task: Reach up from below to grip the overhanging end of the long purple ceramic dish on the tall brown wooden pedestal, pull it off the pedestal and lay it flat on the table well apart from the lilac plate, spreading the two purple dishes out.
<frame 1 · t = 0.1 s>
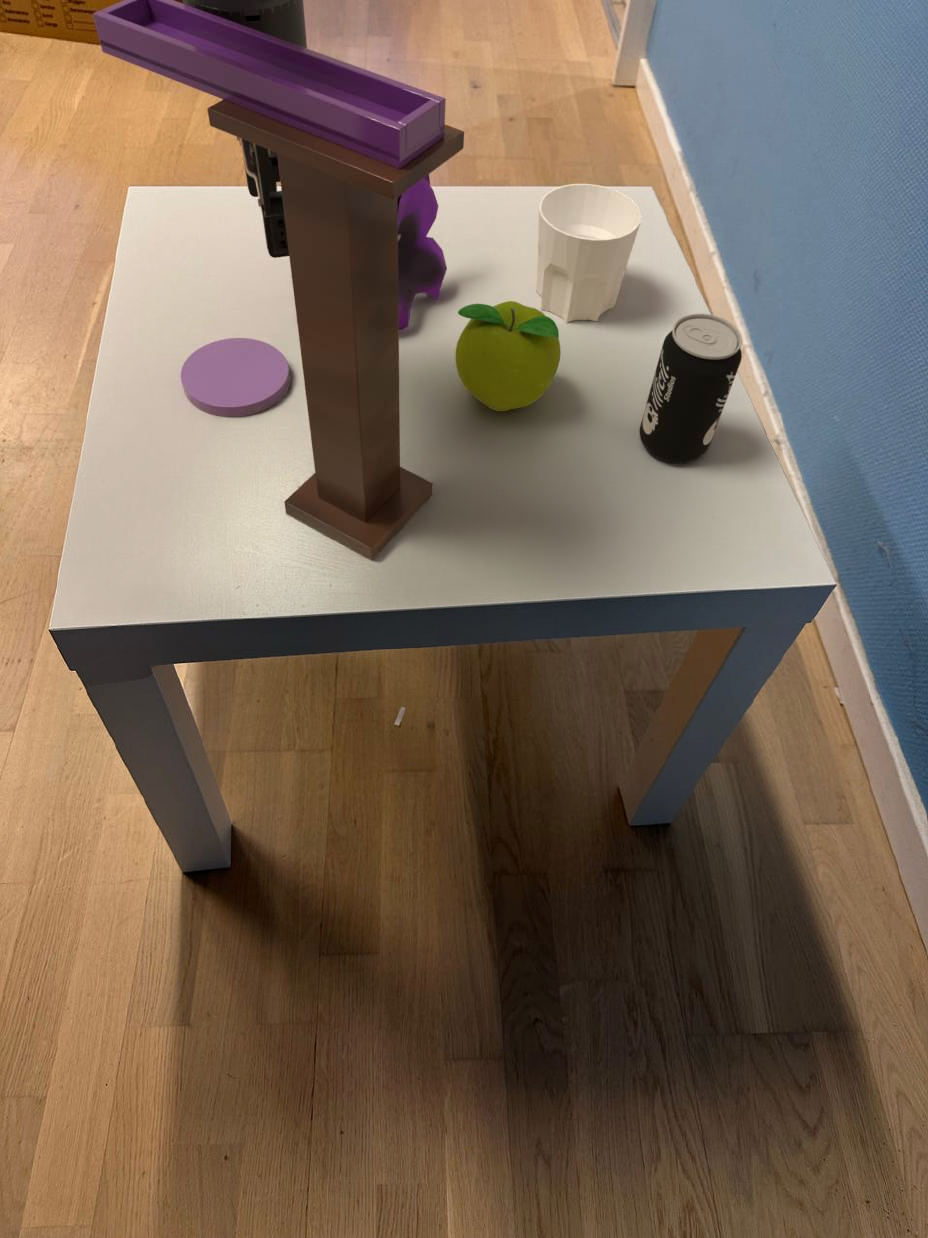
hand: (272, 222, 69), 18 cm above the table, tool pointing down, fingers open, 8 cm apart
fruit: (503, 399, 86), on the table
beverage can: (672, 443, 83), on the table
purple dish: (267, 93, 52), point 32 cm above the table, touching brown wooden pedestal
cup: (574, 300, 96), on the table
flower: (371, 294, 95), on the table
lilac plate: (236, 381, 85), on the table
brown wooden pedestal: (360, 504, 77), on the table
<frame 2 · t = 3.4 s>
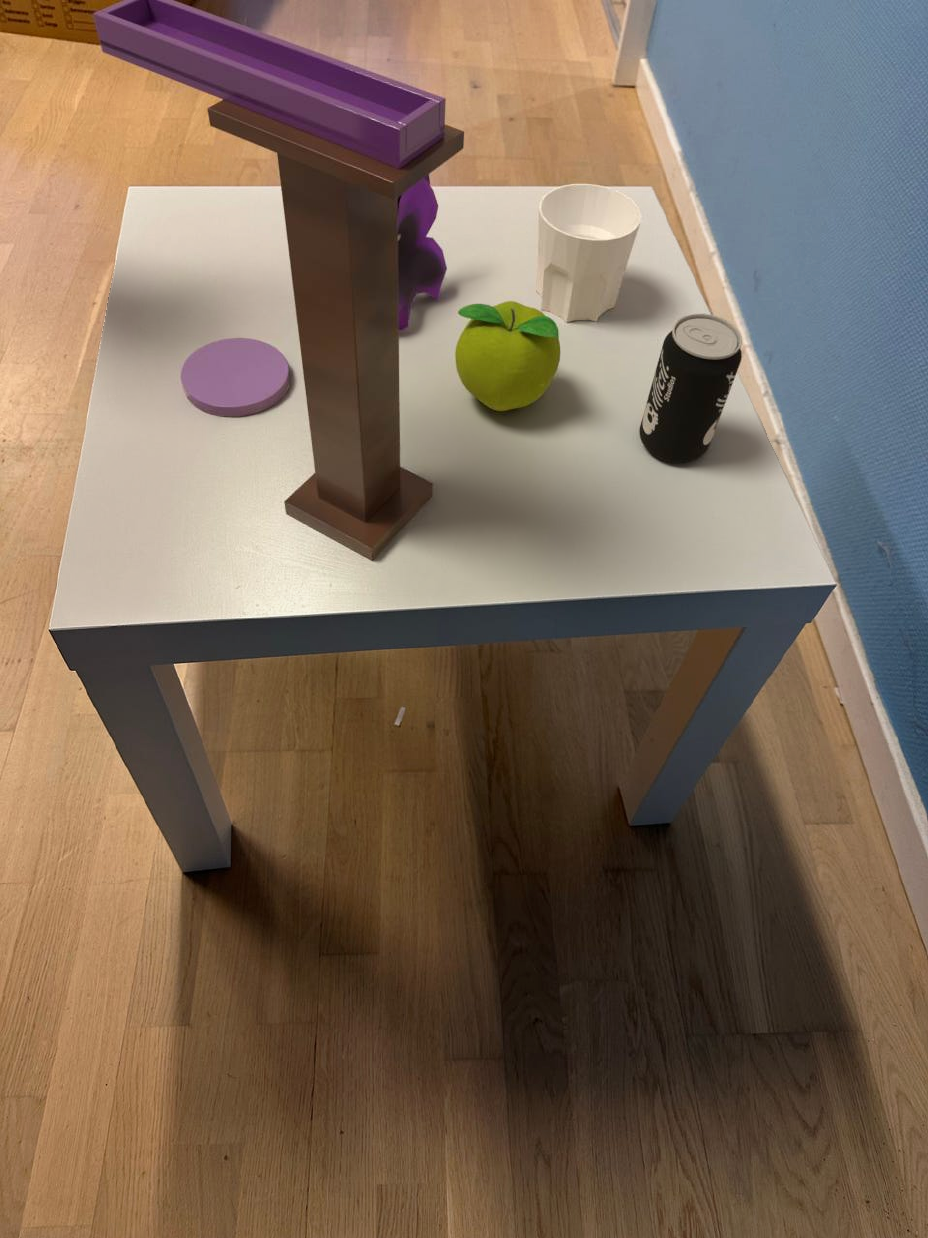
nothing on the table moved.
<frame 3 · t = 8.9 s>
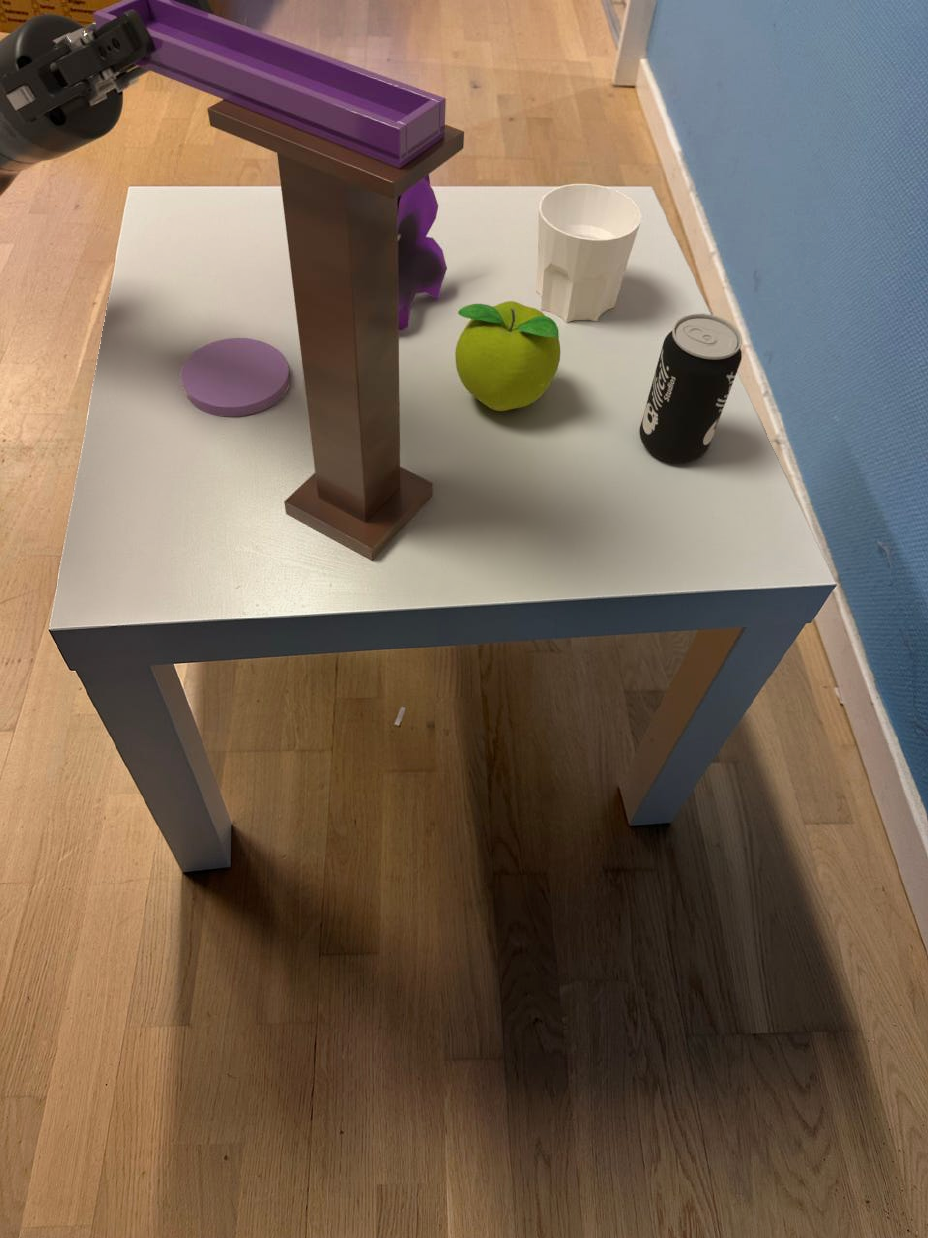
hand: (173, 16, 52), 34 cm above the table, tool pointing upward, fingers closed on purple dish, 4 cm apart
purple dish: (267, 92, 52), point 32 cm above the table, touching brown wooden pedestal, gripper
everything else where it was.
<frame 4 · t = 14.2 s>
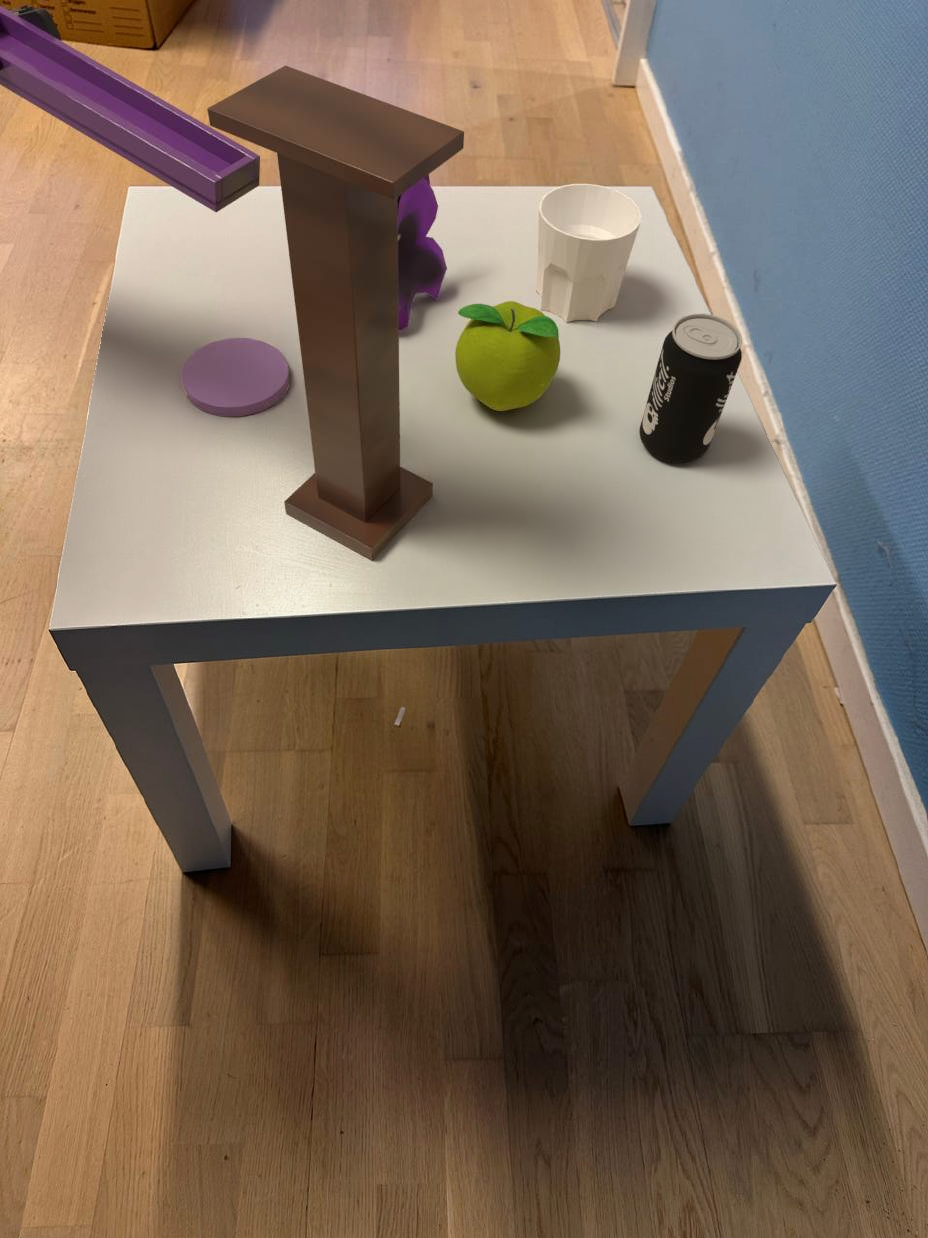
hand: (21, 39, 59), 30 cm above the table, tool pointing upward, fingers closed on purple dish, 4 cm apart
purple dish: (106, 121, 60), point 27 cm above the table, tilted 10°, touching gripper
everything else where it was.
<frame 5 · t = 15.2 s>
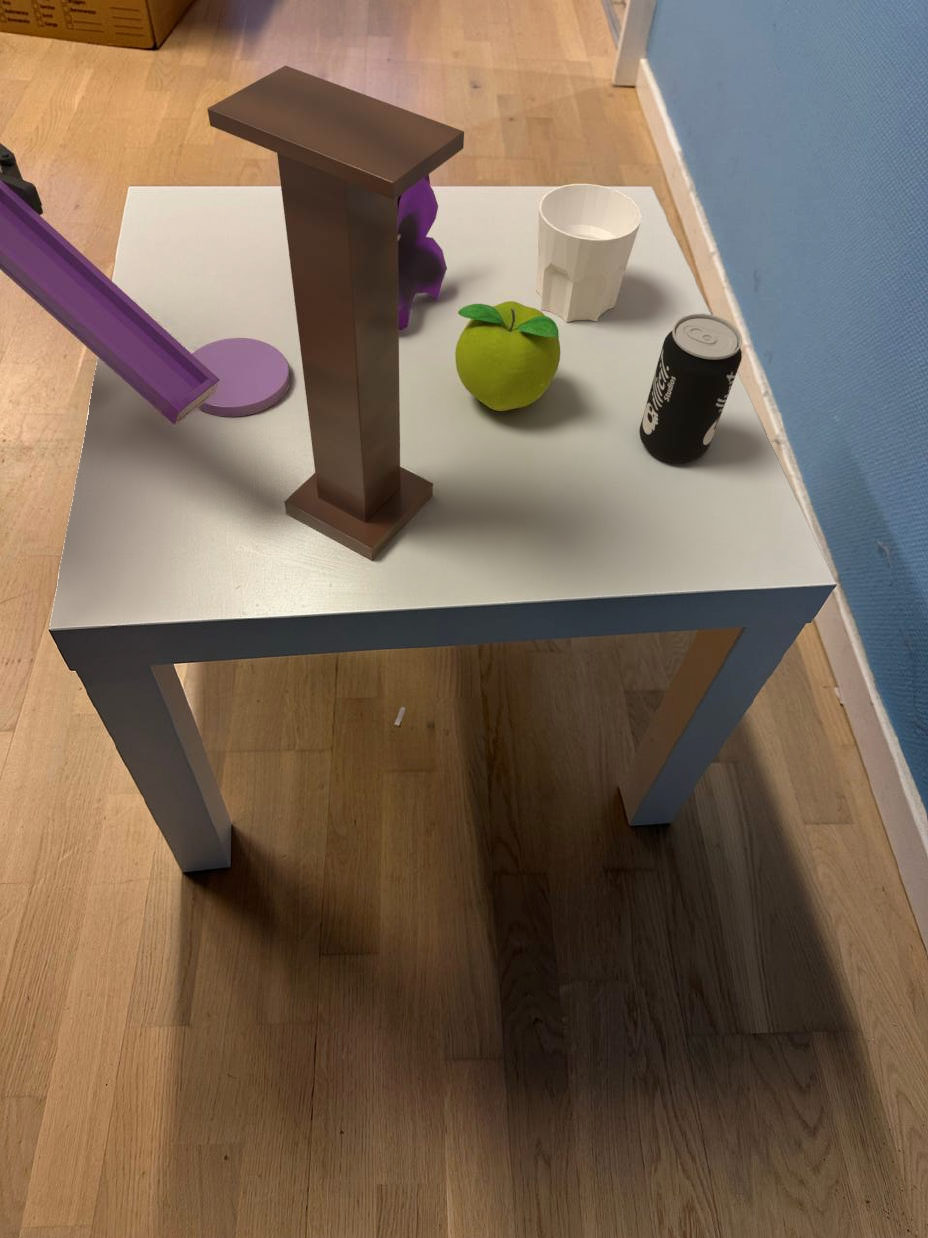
hand: (7, 217, 63), 21 cm above the table, tool horizontal, fingers closed on purple dish, 4 cm apart
purple dish: (79, 306, 66), point 16 cm above the table, tilted 27°, touching gripper
everything else where it was.
when the fingers open (7 cm above the table, at t = 19.7 s): purple dish drops 3 cm, on the table.
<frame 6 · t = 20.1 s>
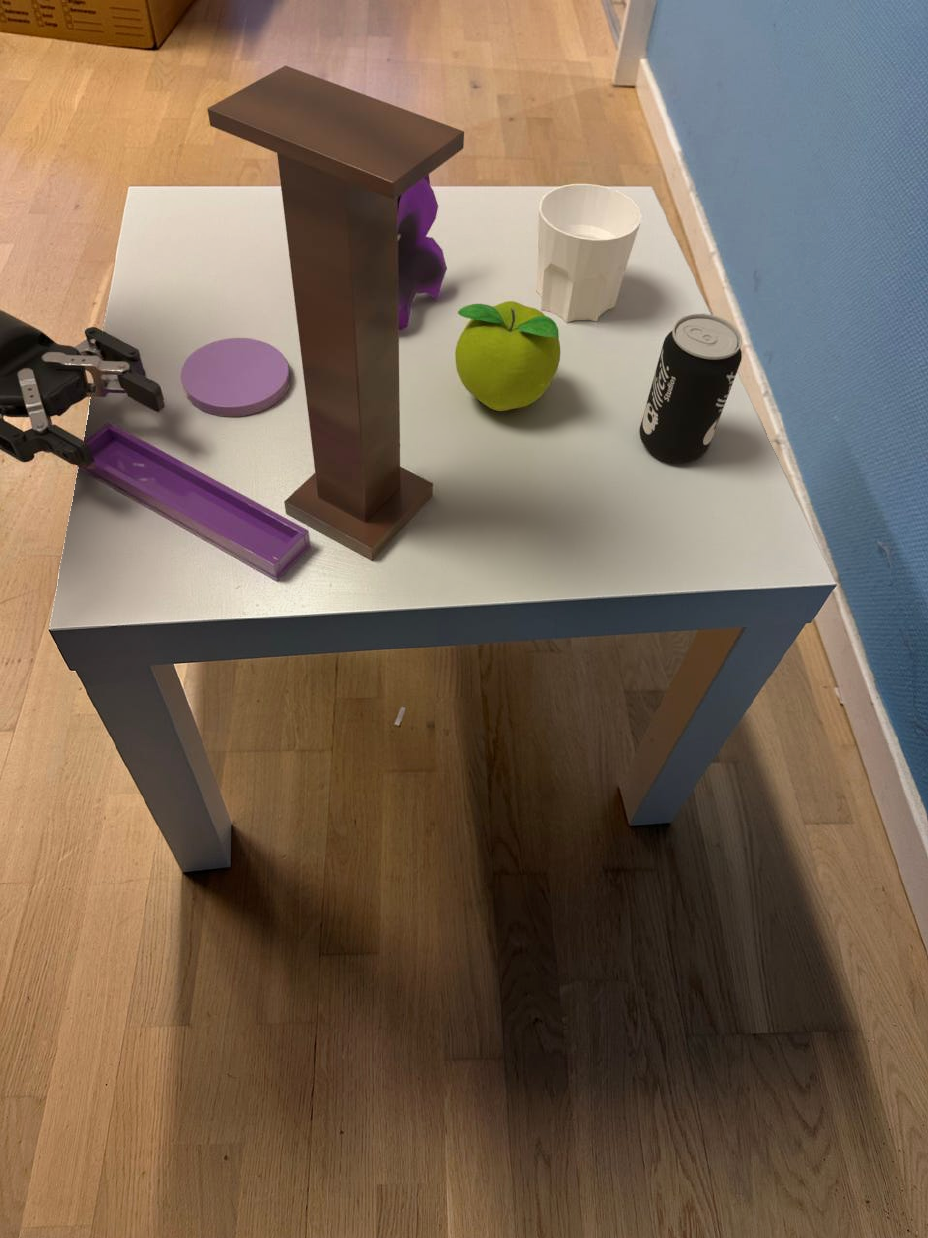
hand: (125, 427, 72), 6 cm above the table, tool horizontal, fingers open, 7 cm apart
purple dish: (191, 506, 76), on the table
everything else where it was.
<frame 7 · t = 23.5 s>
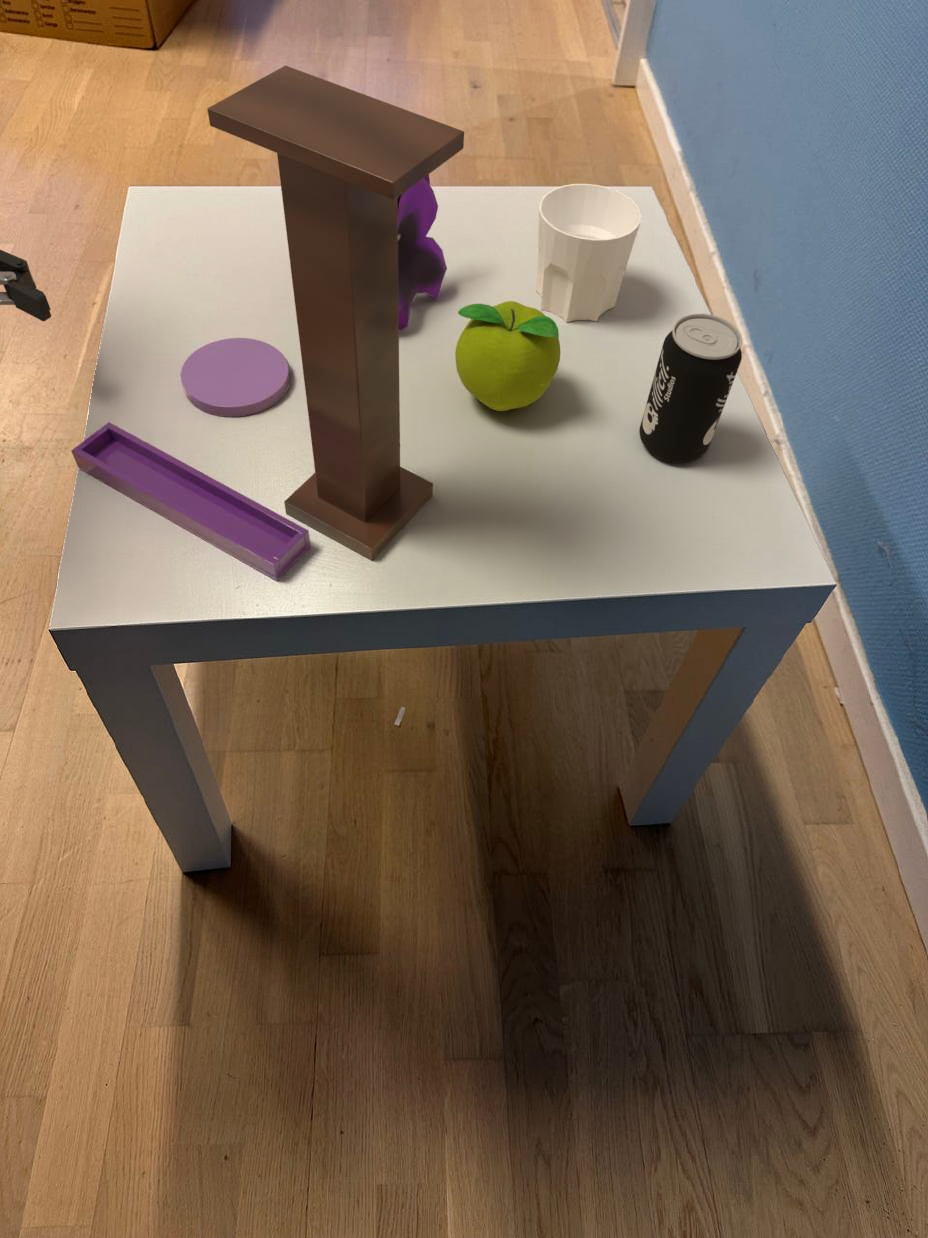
hand: (4, 335, 73), 10 cm above the table, tool horizontal, fingers open, 8 cm apart
nothing on the table moved.
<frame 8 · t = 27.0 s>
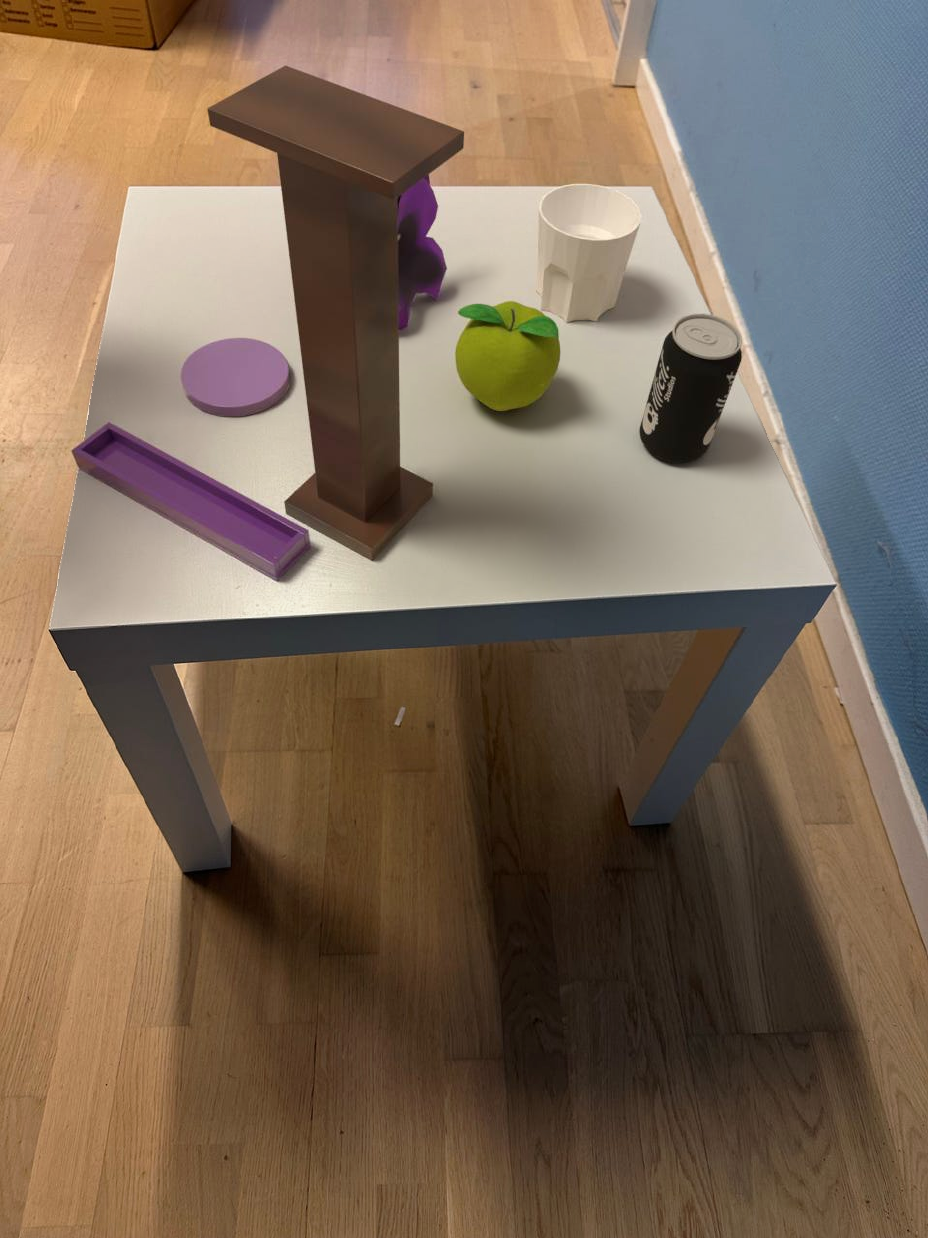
nothing on the table moved.
at the end: purple dish inside the target area on the table beside the lilac plate (2.5 cm from its centre), on the table; purple dish tilted 0°; the gripper is holding nothing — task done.
